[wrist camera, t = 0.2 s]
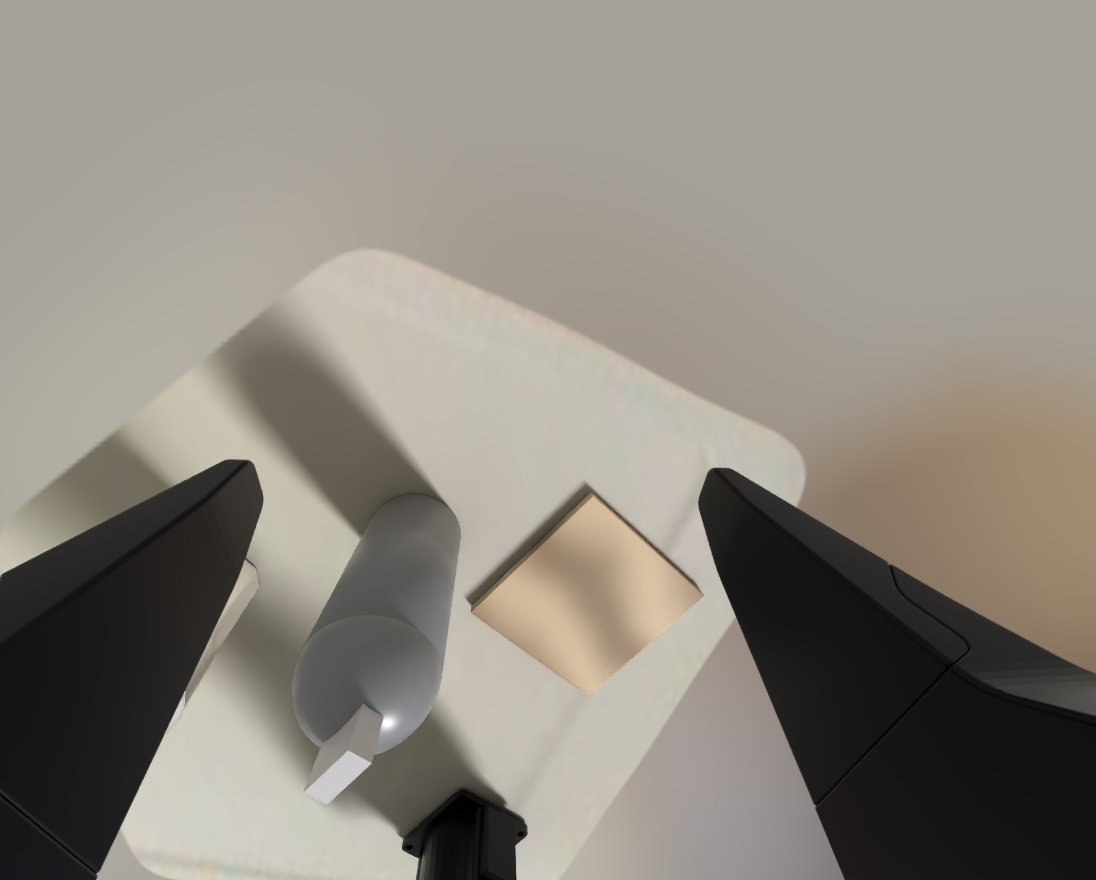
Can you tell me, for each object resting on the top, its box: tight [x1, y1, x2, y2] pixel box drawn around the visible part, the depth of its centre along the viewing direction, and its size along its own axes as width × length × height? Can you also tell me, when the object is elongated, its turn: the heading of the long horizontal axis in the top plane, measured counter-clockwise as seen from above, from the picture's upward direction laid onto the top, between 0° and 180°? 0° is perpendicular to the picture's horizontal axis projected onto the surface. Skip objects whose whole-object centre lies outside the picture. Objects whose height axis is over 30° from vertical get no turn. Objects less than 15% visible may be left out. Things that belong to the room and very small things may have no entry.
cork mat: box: [471, 492, 704, 696], centre depth 29 cm, size 10×10×1 cm
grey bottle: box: [292, 494, 461, 805], centre depth 20 cm, size 5×5×14 cm
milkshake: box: [165, 559, 260, 734], centre depth 21 cm, size 4×5×10 cm
